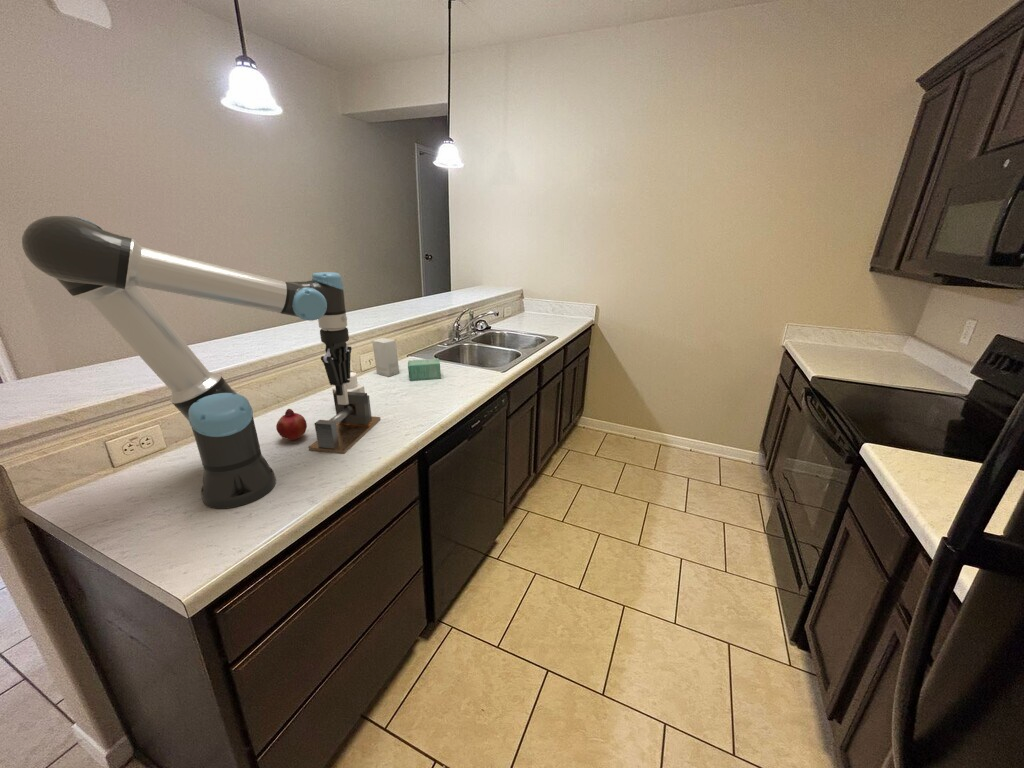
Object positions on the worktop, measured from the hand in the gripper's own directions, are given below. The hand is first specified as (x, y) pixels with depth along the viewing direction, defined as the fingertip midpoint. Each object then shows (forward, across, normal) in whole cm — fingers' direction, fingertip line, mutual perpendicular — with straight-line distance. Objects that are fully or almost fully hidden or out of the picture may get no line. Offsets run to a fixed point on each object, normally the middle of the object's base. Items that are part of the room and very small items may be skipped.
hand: (343, 403), depth 126 cm
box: (+10, +55, -6) cm, 56 cm away
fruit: (+11, -6, +14) cm, 18 cm away
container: (+10, +20, +9) cm, 24 cm away
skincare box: (+10, +57, +12) cm, 59 cm away
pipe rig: (+10, 0, 0) cm, 10 cm away
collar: (+8, +4, 0) cm, 9 cm away
